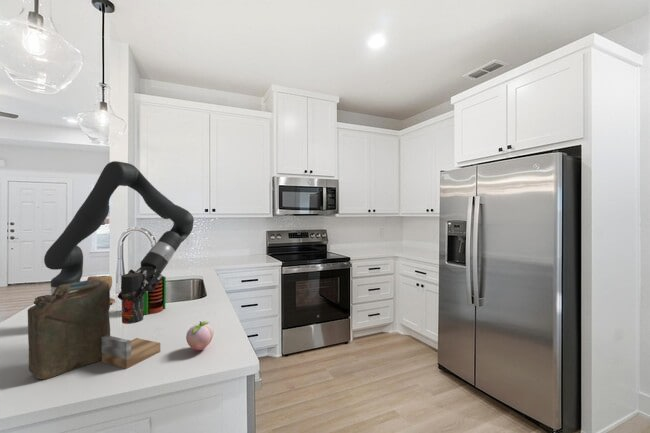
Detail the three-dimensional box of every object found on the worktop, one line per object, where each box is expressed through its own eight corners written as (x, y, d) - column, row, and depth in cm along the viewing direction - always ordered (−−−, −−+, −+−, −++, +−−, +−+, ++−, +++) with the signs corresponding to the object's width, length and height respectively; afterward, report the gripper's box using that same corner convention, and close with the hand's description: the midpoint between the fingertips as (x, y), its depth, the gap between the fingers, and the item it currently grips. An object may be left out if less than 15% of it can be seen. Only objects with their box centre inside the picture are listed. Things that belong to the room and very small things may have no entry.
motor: (152, 315, 140) (152, 271, 140) (135, 314, 142) (135, 270, 142) (168, 308, 150) (168, 267, 150) (152, 307, 152) (152, 266, 152)
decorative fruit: (193, 344, 111) (193, 316, 110) (216, 344, 110) (216, 316, 110) (180, 356, 101) (180, 326, 101) (205, 357, 101) (205, 326, 101)
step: (101, 362, 97) (101, 337, 97) (136, 346, 109) (136, 323, 108) (126, 368, 94) (126, 342, 93) (160, 351, 105) (160, 328, 105)
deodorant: (147, 318, 103) (146, 273, 102) (129, 325, 97) (128, 277, 97) (135, 316, 105) (135, 272, 105) (117, 322, 100) (116, 275, 99)
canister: (101, 350, 106) (100, 277, 105) (113, 356, 101) (112, 280, 100) (26, 375, 90) (25, 289, 89) (36, 384, 85) (35, 293, 85)
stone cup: (111, 299, 164) (111, 271, 164) (117, 304, 156) (117, 275, 156) (75, 306, 153) (74, 276, 153) (79, 311, 145) (78, 280, 145)
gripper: (136, 250, 110) (103, 291, 99) (167, 252, 105) (135, 296, 94) (150, 262, 115) (119, 303, 104) (180, 264, 110) (151, 308, 99)
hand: (127, 299), depth 99 cm, fingers closed on deodorant, 6 cm apart
